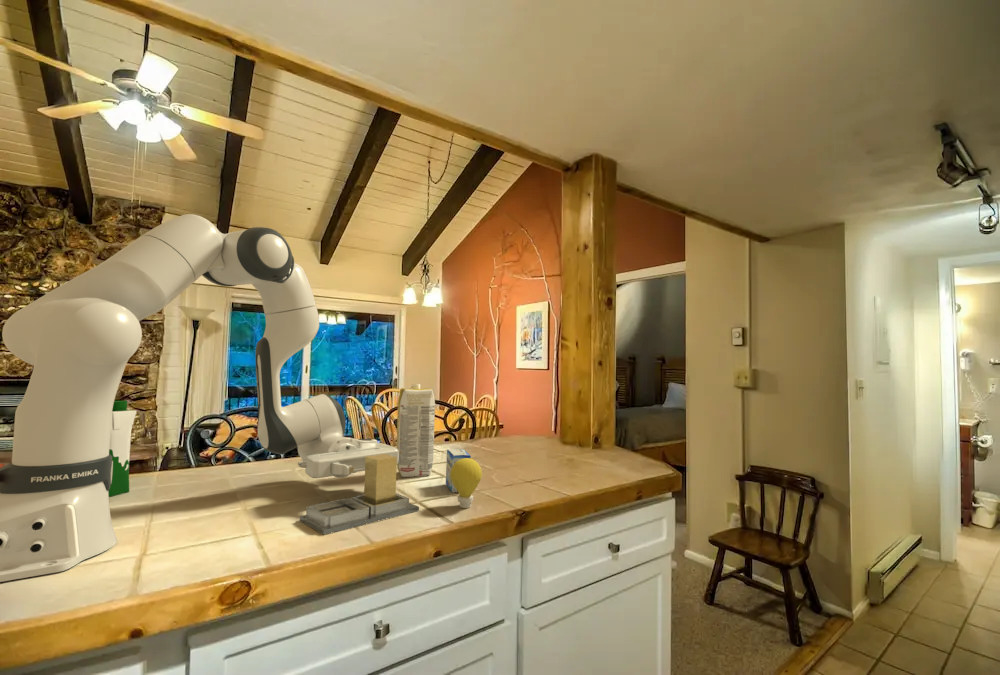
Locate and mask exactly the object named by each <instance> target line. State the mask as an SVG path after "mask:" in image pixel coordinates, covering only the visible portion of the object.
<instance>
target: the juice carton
mask: <svg viewBox="0 0 1000 675" xmlns="http://www.w3.org/2000/svg"><path fill="white" fill-rule="evenodd" d="M434 394H435V393H434V389H432V388H426V387H425V388H421V384H420V383H413V384H412V383H411V384H410V388H403V387H402V388H400V390H399V395H398V399H397V400H398V401H397V419H396V420H397V422H396V447H395V448H397V449H398V451H399V461H398V464H397V471H398V473H399V475H400V476H401V478H413V477H414V476H415V477H426V476H427V475H429V476H431V474H432V471H433V470H432V469H433V465H434V449H435V419H436V416H435V414H436V413H435V412H436V402H435V401H436V399H435V395H434Z"/></svg>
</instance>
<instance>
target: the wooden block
mask: <svg viewBox="0 0 1000 675" xmlns="http://www.w3.org/2000/svg"><path fill="white" fill-rule="evenodd" d="M397 470H398V467H397V457H394V456H391V455H387V454H380V455H373V456H366V457H365V471H364V485H363V486H364V489H363V490H364V491H363V495H364V501H365V502H367V503H369V504H371V505H378V504H383V503H387V502H391V501H395V500H396V493H397Z"/></svg>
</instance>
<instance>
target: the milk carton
mask: <svg viewBox="0 0 1000 675" xmlns="http://www.w3.org/2000/svg"><path fill="white" fill-rule="evenodd" d="M136 414H137V410H133V409H128V400H120V399H119V400H114V404H113V409H112V419H111V432H110V447H109V454H111V456H112V461H113V472H112V484H111V485H110V489H109V490H108V493H109V498H110V497H115V496H118V495H122V494H126V493H130V454H131V437H132V428H133V424H134V421H135V419H136V418H135V417H136Z"/></svg>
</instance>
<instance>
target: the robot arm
mask: <svg viewBox="0 0 1000 675" xmlns="http://www.w3.org/2000/svg"><path fill="white" fill-rule="evenodd" d="M200 277H203V278H205V279H206V280H208V282H211V283H213V284H215V285H217V286H222V287H237V286H243V285H252V286H253V287H254V288H255V289H256V291H257V292H258V293H259V295H260V298H261V302H262V308H263V312H264V317H265V329H264V333H263V336H262V338H260V339H259V340H258V341H257V343H256V347H255V378H256V393H257V394H256V395H257V398H256V399H257V424H256V425H257V426H256V427H257V436H258V440H259V443H260V445H261V447H262V448H263V449H264V450H265V451H267V452H270V453H273V454H278V455H285V454H286V453H288V452H290V451H292V450H294V449H296V448H297V453H298V455H299V458H300V459H301V461H298V462H297V466H298V467H299V468H302V469H303V468H304V472H305V474H306V475H308V476H309V477H310V478H312V479H324V478H329V477H335V478H346V477H349V476H350V475H354V474H355V473H357V472H358V473H359V472H363V471H364V472H365V457H366V456H373V455H380V454H387V455H391V456H394V457H397V464H398V461H399V451H398V449H397V448H396V447H394V446H392V445H389V444H386V443H381V442H378V440H377V439H374V438H353V437H346V436H344V435H345V432H346V425H347V424H346V417H345V412H344V410H343V407H342V405H341V404H340V402H338V401H337V400H336V399H335V398H334V397H332V396H331V395H328V394H326V393H320V394H318V395H314V396H311V397H308V398H306V399H305V398H304V399H303V400H300V401H297V402H294V403H291V404H288V405H285V406H282V398H281V397H282V394H281V381H280V380H281V378H280V375H281V374H280V373H281V369H282V368H283V366H284V364H285V363H286V362H287V361H288V360H289V359H290V358H292V356H294V355H295V354H296V353H298V352H300V351H301V350H302V349H304V348H305V347H306V346H308V345H309V344H310V343H311V342H312V341H313V340H314V339H315V337H316V336H317V334H318V331H319V328H320V318H319V311H318V307H317V303H316V299H315V296H314V292H313V289H312V287H311V284H310V282H309V279H308V277H307V275H306V272H305V270H304V268H303V267H302V266H301V265H300V264H298V263H297V262H295V259H294V256H293V253H292V250H291V248H290V245H289V243H288V242H287V240H286V239H285V237H284V236H283V235H282V234H281V233H280V232H279V231H277V230H275V229H273V228H269V227H262V226H261V227H260V226H259V227H257V226H255V227H254V226H253V227H249V228H247V229H243V230H237V231H231V232H228V233H227V232H226V233H222V232H221V231H220V230H219V229H218V228H217V226H216V225H215V224H213V223H212V222H211V221H210V220H209V219H208V218H205V217H203V216H201V215H198V214H192V213H187V214H186V213H185V214H182V215H179V216H177V217H173V218H171V219H168V220H167V221H165V222H162V223H161V224H159V225H157V226H155V227H153V228H152V229H150V230H148V231H146V232H145V233H143V234H142V235H140V236H138V237H137V239H135V240H133V241H131V243H129V244H128V245H126V246H125V247H123V248H121V249H120V250H119V251H117V252H115V253H114V254H113V255H112V256H110V257H109V258H107V259H106V260H104V261H103V262H100V263H99V264H98V265H96V266H94V267H92V268H90V269H88V270H87V271H84V272H82V273H80V274H79V275H76V276H75V277H74V278H72V279H70V280H68V281H66V282H65V283H63V284H60V285H59V286H58V287H56V288H54V289H52V290H50V291H48V292H47V293H46V294H44V295H42V296H40V297H39V298H37V299H35V300H34V301H32V302H30V303H29V304H28V305H27V304H26V305H25V306H24V307H22V308H21V309H18V310H17V311H15V312H14V313H13V314H12V315H10V316H9V318H8V319H6V322H5V323H4V325H3V327H2V332H1V336H2V342H3V344H4V345H5V347H6V348H7V350H8V351H9V352H10V353H11V354H12V355H14V356H15V357H16V358H18V359H19V360H21V361H23V363H26V364H28V365H31V366H33V369H32V372H31V375H30V379H29V383H28V385H27V388H26V390H25V393H24V396H23V398H22V400H21V402H20V403H19V404H18V405H17V407H16V410H15V413H14V414H15V415H14V426H13V438H12V441H13V442H12V453H11V454H12V455H11V456H12V457H11V462H10V463H9V462H8V463H7V464H4V463H0V583H1V582H3V583H4V582H7V581H13V580H20V579H25V578H30V577H37V576H44V575H49V574H55V573H59V572H60V573H61V572H63V571H67V570H69V569H71V568H73V567H74V566H76V565H78V564H79V563H81V562H83V561H85V560H86V559H89V558H92V557H94V556H97V555H99V554H101V553H104V552H105V551H107V550H109V549H111V548H112V547H113V546H115V545H116V543H117V542H118V539H117V536H116V532H115V530H114V526H113V521H112V517H111V516H112V515H111V508H110V497H109V493H108V490H109V489H110V485H111V484H112V472H113V461H112V456H111V454H109V447H110V432H111V419H112V409H113V404H114V401H116V400H115V399H116V396H117V393H118V390H119V386H120V383H121V380H122V377H123V374H124V371H125V369H126V366H127V363H128V361H129V360H130V358H131V357H132V356H133V355H134V354H135V353H136V352H137V351H138V350H139V347H140V345H141V343H142V336H143V331H142V326H141V324H140V321H143V320H144V319H146V318H148V317H150V316H152V315H155V314H157V313H159V312H161V311H162V310H163V309H164V308H165V307H166V306H167V305H168V304H170V303H171V302H173V301H174V300H175V299H177V297H179V295H181V294H182V293H183V292H185V291H186V290H187V289H188V288H189V287H191V285H193V283H195V282H196V281H197V280H198V279H200Z"/></svg>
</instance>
